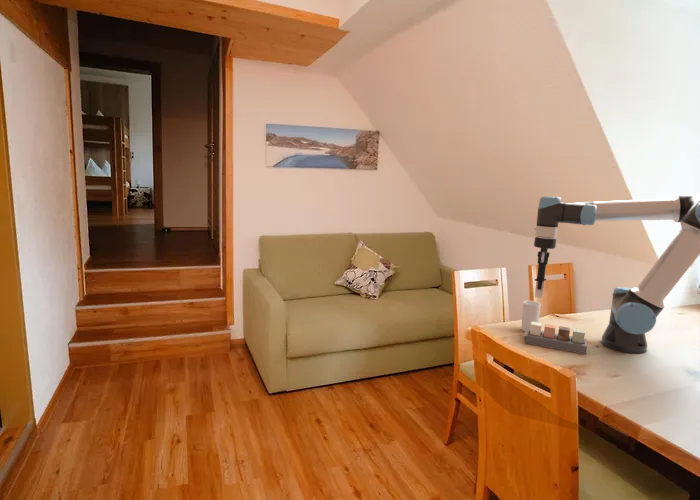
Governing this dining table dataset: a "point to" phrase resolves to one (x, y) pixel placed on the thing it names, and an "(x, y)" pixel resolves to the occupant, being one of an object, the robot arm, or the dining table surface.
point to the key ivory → (535, 328)
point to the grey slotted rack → (556, 342)
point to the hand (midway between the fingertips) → (538, 296)
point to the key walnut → (563, 333)
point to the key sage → (578, 335)
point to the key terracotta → (549, 331)
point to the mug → (530, 314)
